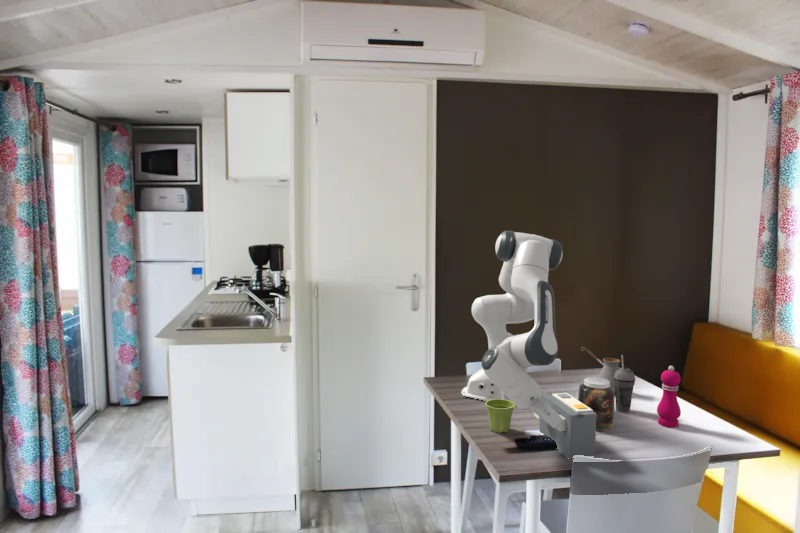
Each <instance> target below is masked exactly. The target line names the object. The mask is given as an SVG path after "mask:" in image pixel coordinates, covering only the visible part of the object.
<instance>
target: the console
mask: <svg viewBox="0 0 800 533" xmlns="http://www.w3.org/2000/svg"><path fill="white" fill-rule="evenodd" d="M540 394H541V398H540V399H542V400H543V401H544V402H546V403H547V404H548V405H549V406H551V408H552V409H553V410H554V411H555V412H556V413H557V414H558V415H563V416H564V417H566V431H559V430H557V429H554V428H553V427H551V426H550V425H549V424H548V423H546V422H545V421H544V420H543V419H540V420H539V430H538V431H540V432H541V433H543V434H544V435H546V436H548V437H550V438H552V439H553V440H554V441H555V442H556V445H557V448H556V449H557V451H559V452H560V453H561V454H562V455H563V456H564V457H565V458H567V459H568V458H569V459H568V460H573V459H572V457H573V456H574V455H584V456H595V454H596V452H595V450H596V433H597V431H596V416H597V414H596V413H595V412H593V410H592V409H591V408H589V407H588V406H586V405H585V404H583V403H581V402H580V401H578V398H575V397H574V396H573V395H571V394H569V393H567V392H564V391H563V392H561V391H560V392H547V393H546V392H543V393H540Z"/></svg>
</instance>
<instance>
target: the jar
mask: <svg viewBox="0 0 800 533" xmlns="http://www.w3.org/2000/svg"><path fill="white" fill-rule="evenodd" d="M577 396H578V397H577V400H578V401H580V402H581V403H583V404H585V405H586V406H588V407H589V408H591V409H592V410H593V412H595V413H596V414H597V416H596V432H605V431H610V430H612V429H613V428H614V420H615V419H614V416H615V415H614V414H615V398H616V397H615V392H614V388H613V387H612V386H610V381H609V380H607V379H604V378H599V377H597V376H589V377H585V378H584V380H583V383H580V385H579V387H578V395H577Z"/></svg>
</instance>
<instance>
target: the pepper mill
mask: <svg viewBox="0 0 800 533" xmlns="http://www.w3.org/2000/svg"><path fill="white" fill-rule="evenodd" d="M660 379H661V382H662V384H661V388H662V396H661V399H660V401H659V403H658V405H657V407H656V412H657V415H658V417H657V424H658V425H659V426H662V427H664V428H670V429H673V428H675V429H676V428H678V426H679V418H680V416H681V414H682V412H681V411H682V410H681V406H680V405H679V404H680V403H679V402H678V396H677V394H678V391H679V388H680V386H679V384H680V382H681V380H682V379H681V375H680V373H679V372H678V371H676V370H675V367H674V366H673V365H669V366H668V369H666V370H664V371H663V372H662V373H661V375H660Z"/></svg>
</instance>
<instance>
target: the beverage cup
mask: <svg viewBox="0 0 800 533" xmlns="http://www.w3.org/2000/svg"><path fill="white" fill-rule="evenodd" d="M620 357H621V367H620V368H619V369H618V370H617V371H616V372H615V375H614V383H615V397H614V398H615V410H616V411H617V412H619V413H625V414H627V413H630V410H631V405H632V400H633V392H634V386H635V382H636V375H635V373H634V371H633V370H632V369H630V368H629V367H625V365H624V363H625V362H624V355H623V354H621V356H620Z"/></svg>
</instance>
